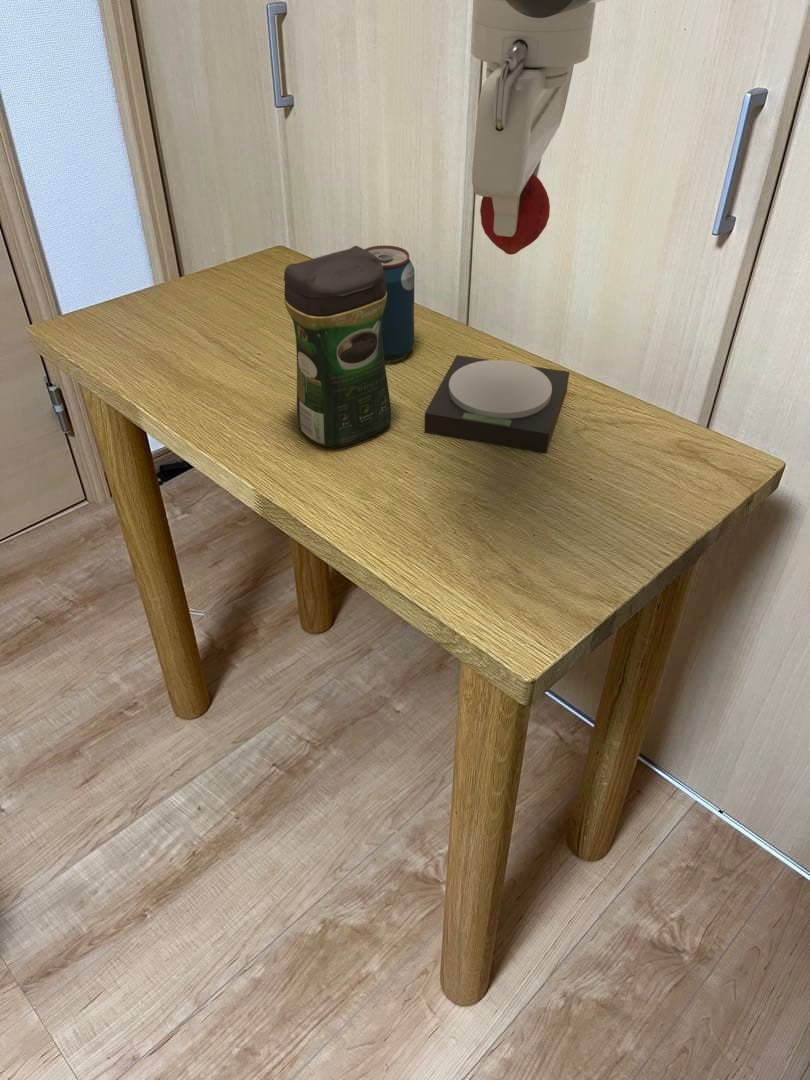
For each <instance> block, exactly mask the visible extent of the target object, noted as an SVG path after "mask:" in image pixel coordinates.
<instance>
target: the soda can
mask: <svg viewBox="0 0 810 1080" xmlns="http://www.w3.org/2000/svg"><path fill="white" fill-rule="evenodd" d="M364 249H365V250H367V251H368V252H370V253H372V254H373V255H375V256H376V257H378V258H379V259H380V261H381V264H382V266H383V270H384V274H385V276H384V277H385V282H386V289H387V300H386V304H385V308H384V312H383V317H382V342H383V352H384V361H385V364H387V363H388V364H389V363H395V362H399V361H402V360H404V359H405V358H406V357H407V356H408V355H409V353H410V352H411V350H412V348H413V347H414V344H415V267H414V265H413V263H412V261H411V259H410V253H409V251H408V250H406V249H405V248H402V247H400V246H395V245H387V244H386V245H384V244H383V245H373V246H369V247H366V248H364Z"/></svg>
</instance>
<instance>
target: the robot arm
mask: <svg viewBox="0 0 810 1080" xmlns="http://www.w3.org/2000/svg"><path fill="white" fill-rule="evenodd" d="M472 1H473V3H472V18H471V19H472V20H471V39H470V54H471V55H472V56H473V57H474V58H476V59H477V60H480V61H483V62H485V63H486V68H485V80H484V82H483V84H482V87H481V90H480V94H479V100H478V106H477V114H476V122H475V123H476V124H475V133H474V143H473V153H472V154H473V156H472V165H471V186H472V191H473V193H474V194H475V195H477V196H479V197H483V196H485V197H492V202H493V208H494V213H495V214H494V228H493V230H494V233H495V234H496V235H499V236H507V237H511V236H513V235H514V234H515V232H516V230H517V228H518V225H519V214H520V209H519V200H520V194H521V192H522V191H523V189H524V187H525V185H526V184H527V182H528V180H529V178H530V177H531V175H532V173H533V174H535V175H536V176H537V177H538V176H539V171H540V167H541V163H542V159H543V156H544V154H545V153H546V151H547V149H548V147H549V145H550V144H551V142H552V141H553V139H554V137H555V136H556V133H557V132H558V130H559V128H560V126H561V124H562V120H563V118H564V117H563V116H564V113H565V110H566V105H567V100H568V97H569V96H568V95H569V91H570V86H571V82H572V76H573V71H574V67H575V65H578V64H580V63H583V62H584V61H586V60H587V59H588V58H589V56H590V51H591V50H590V49H591V43H592V42H591V41H592V35H593V28H594V27H593V26H594V19H595V12H596V4H597V3H599V2H604V1H606V0H472Z"/></svg>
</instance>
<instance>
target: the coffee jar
mask: <svg viewBox="0 0 810 1080" xmlns="http://www.w3.org/2000/svg"><path fill="white" fill-rule="evenodd" d="M365 249H366V248H362V247H360V246H358V245H353V246H352V247H350V248H347V249H343V250H340V251H339V250H338V251H336V252H331V253H328V254H325V255H321V256H318V257H314V258H311V259H308V260H304V261H301V262H297V263H290V264H288V265H286V267H285V269H284V274H283V275H284V276H283V282H284V295H283V296H284V298H283V299H284V300H283V301H284V305H285V308H286V311H287V313H288V315H289V317H290V318H291V320H292V323H293V327H294V335H295V344H296V345H295V346H296V416H297V417H296V418H297V425H298V428H299V429H300V431H301V432H302V433H303V434H304V436H305V437H306V438H307V439H309V441H311V442H312V443H315V444H317V445H320V446H322V447H328V448H332V449H336V448H342V447H345V446H349V445H351V444H354V443H358V442H360V441H362V440H365V439H368V438H369V437H372V436H374V435H376V434H378V433H380V432H382V431H383V430H384V429H386V428H387V427H388V426H389V424H390V423H391V420H392V407H391V397H390V391H389V390H390V389H389V384H388V377H387V371H386V370H387V369H386V363H385V361H384V352H383V342H382V317H383V312H384V308H385V304H386V300H387V289H386V282H385V277H384V276H385V274H384V270H383V266H382V264H381V261H380V259H379V258H378V257H376V256H375V255H373V254H372V253H370V252H368V251H367V250H365Z"/></svg>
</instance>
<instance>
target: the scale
mask: <svg viewBox="0 0 810 1080" xmlns="http://www.w3.org/2000/svg"><path fill="white" fill-rule="evenodd" d="M569 377H570V371H566V370H561V369H553V368H547V367H540V366H534V365H528V364H525V363H522V362H518V361H514V360H507V359H506V360H505V359H487V358H481V357H473V356H466V355H461V354H456V356H455V357H454V359H453V361H452V363H451V364H450V366H449V368H448V370H447V372H446V373H445V375H444V378H443V379H442V381H441V383H440V384H439V386H438V388H437V390H436V391H435V394H434V396H433V397H432V399H431V401H430V403H429V405H428V407H427V408H426V410H425V412H424V433H426V434H427V433H428V434H431V435H432V434H433V435H439V436H443V437H450V438H456V439H463V440H467V441H474V442H479V443H486V444H492V445H497V446H501V447H502V446H503V447H509V448H515V449H520V450H526V451H532V452H537V453H542V454H547V453H548V449H549V446H550V444H551V441H552V438H553V434H554V431H555V428H556V425H557V422H558V419H559V417H560V413H561V410H562V408H563V407H562V406H563V403H564V400H565V399H566V398H565V397H566V395H567V391H568V386H569Z"/></svg>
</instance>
